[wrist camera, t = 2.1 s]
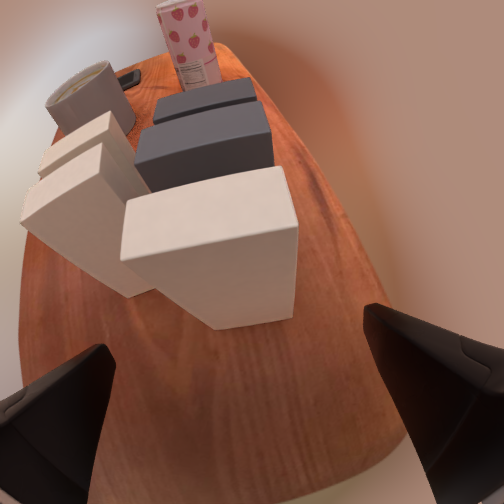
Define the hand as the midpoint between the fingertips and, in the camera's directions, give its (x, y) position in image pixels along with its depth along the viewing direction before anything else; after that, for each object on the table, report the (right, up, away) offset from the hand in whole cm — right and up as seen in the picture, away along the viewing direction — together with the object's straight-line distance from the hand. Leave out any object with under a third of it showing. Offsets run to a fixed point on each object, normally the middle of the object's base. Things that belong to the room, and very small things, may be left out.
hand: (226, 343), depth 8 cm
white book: (+1, -1, +11) cm, 11 cm away
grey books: (0, +5, +13) cm, 14 cm away
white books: (-8, +3, +14) cm, 16 cm away
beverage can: (-6, +25, +25) cm, 36 cm away
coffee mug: (-21, +21, +25) cm, 39 cm away
